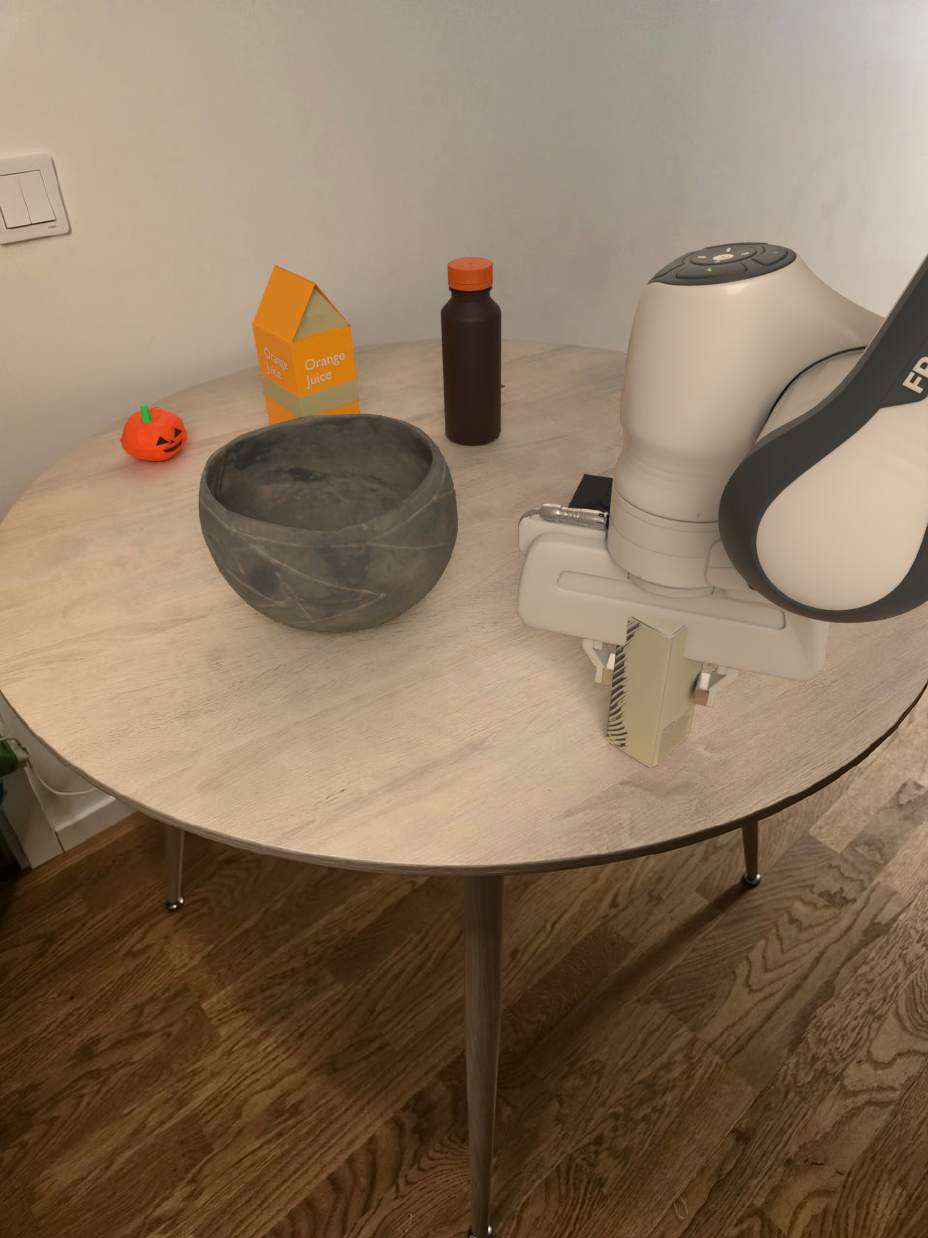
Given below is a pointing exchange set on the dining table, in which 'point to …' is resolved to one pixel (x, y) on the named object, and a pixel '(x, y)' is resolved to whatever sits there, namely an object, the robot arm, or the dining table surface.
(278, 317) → the orange juice
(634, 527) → the robot arm
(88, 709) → the dining table surface
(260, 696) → the dining table surface
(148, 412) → the pumpkin
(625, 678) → the box
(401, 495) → the bowl
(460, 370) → the bottle
